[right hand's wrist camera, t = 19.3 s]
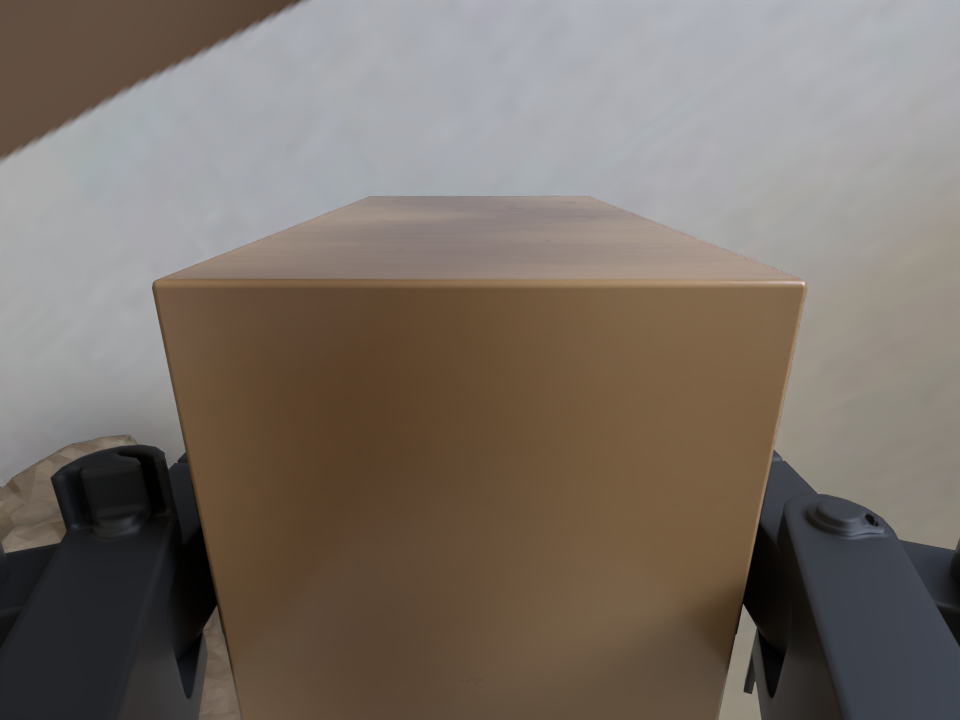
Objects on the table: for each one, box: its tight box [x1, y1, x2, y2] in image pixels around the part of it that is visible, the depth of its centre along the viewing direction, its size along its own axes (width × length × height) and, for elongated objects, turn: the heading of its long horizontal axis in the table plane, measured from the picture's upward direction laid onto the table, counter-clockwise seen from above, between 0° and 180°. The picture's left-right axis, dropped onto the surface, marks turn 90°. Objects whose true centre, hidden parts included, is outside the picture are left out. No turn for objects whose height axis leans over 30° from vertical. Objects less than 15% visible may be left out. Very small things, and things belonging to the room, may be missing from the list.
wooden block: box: [152, 196, 807, 720], centre depth 12 cm, size 6×9×11 cm
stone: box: [0, 435, 241, 720], centre depth 27 cm, size 21×15×6 cm
